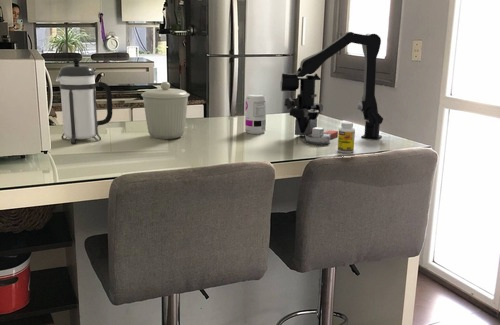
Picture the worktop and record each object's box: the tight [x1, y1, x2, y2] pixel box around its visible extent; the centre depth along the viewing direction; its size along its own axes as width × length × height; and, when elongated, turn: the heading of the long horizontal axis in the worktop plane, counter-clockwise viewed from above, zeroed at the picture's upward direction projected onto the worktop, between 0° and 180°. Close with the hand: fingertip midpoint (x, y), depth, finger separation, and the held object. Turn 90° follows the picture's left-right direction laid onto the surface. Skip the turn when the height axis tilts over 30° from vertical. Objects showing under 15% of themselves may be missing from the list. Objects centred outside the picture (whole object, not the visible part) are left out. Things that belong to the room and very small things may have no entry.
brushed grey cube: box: [294, 118, 318, 137], centre depth 213 cm, size 6×6×6 cm
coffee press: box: [55, 57, 113, 145], centre depth 200 cm, size 17×16×30 cm
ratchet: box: [304, 126, 339, 146], centre depth 208 cm, size 20×9×6 cm, turn 150°
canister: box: [140, 81, 191, 140], centre depth 208 cm, size 18×18×21 cm
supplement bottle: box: [337, 121, 356, 154], centre depth 189 cm, size 6×6×10 cm
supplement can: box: [244, 93, 267, 135], centre depth 220 cm, size 8×8×15 cm
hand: (305, 131), depth 213 cm, fingers closed on brushed grey cube, 6 cm apart
